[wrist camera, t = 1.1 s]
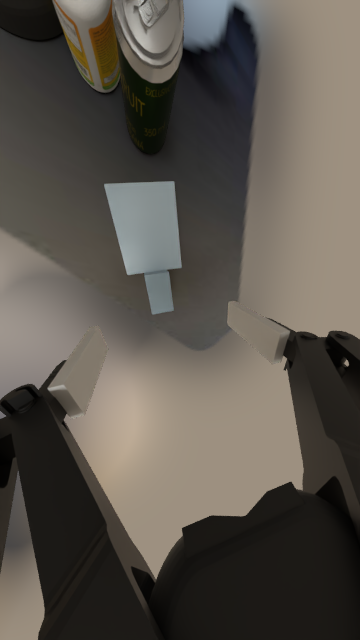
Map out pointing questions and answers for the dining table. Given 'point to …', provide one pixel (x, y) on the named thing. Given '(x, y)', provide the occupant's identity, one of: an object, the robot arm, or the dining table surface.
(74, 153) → the dining table surface
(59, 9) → the supplement bottle
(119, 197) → the lid
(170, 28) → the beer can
